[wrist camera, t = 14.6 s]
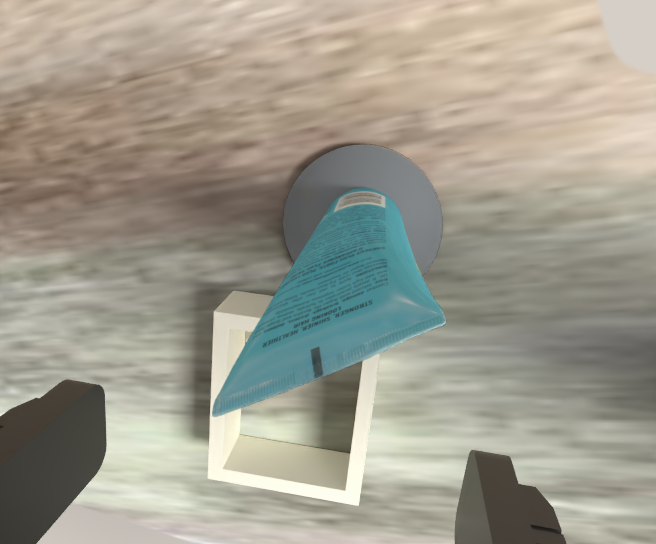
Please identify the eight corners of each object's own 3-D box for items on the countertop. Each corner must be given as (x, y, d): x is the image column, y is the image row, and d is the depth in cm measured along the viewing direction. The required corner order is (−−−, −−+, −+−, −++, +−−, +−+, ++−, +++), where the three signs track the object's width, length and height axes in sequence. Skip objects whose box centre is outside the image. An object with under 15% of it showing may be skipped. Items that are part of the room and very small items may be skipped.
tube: (335, 285, 34) (258, 482, 16) (295, 222, 33) (165, 355, 15) (436, 228, 32) (480, 380, 14) (397, 160, 31) (389, 227, 13)
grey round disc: (454, 153, 32) (455, 155, 31) (428, 307, 35) (428, 312, 34) (291, 135, 33) (289, 136, 32) (280, 286, 36) (277, 290, 35)
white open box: (385, 312, 35) (382, 336, 31) (362, 467, 39) (358, 505, 35) (233, 290, 36) (213, 311, 32) (226, 443, 40) (207, 478, 36)
